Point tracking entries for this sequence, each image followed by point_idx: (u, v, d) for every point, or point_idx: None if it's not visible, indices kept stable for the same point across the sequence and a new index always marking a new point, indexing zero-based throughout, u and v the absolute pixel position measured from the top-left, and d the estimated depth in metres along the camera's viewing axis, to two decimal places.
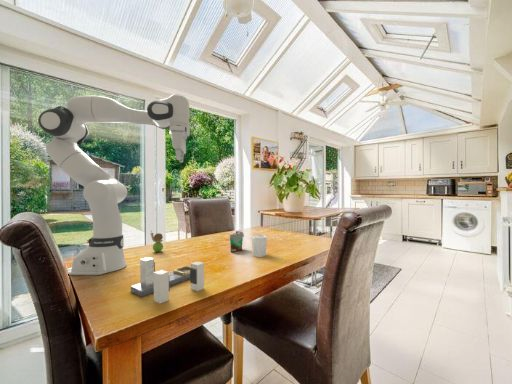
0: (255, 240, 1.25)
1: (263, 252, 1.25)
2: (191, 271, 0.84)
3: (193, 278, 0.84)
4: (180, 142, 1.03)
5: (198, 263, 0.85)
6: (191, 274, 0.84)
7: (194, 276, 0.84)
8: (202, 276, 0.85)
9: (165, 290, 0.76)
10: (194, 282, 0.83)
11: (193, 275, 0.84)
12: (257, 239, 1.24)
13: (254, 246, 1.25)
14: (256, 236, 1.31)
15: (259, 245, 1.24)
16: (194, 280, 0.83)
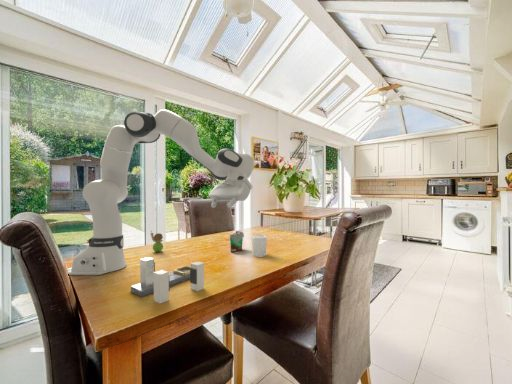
0: (255, 240, 1.25)
1: (263, 252, 1.25)
2: (191, 271, 0.84)
3: (193, 278, 0.84)
4: (247, 196, 1.01)
5: (198, 263, 0.85)
6: (191, 274, 0.84)
7: (194, 276, 0.84)
8: (202, 276, 0.85)
9: (165, 290, 0.76)
10: (194, 282, 0.83)
11: (193, 275, 0.84)
12: (257, 239, 1.24)
13: (254, 246, 1.25)
14: (256, 236, 1.31)
15: (259, 245, 1.24)
16: (194, 280, 0.83)
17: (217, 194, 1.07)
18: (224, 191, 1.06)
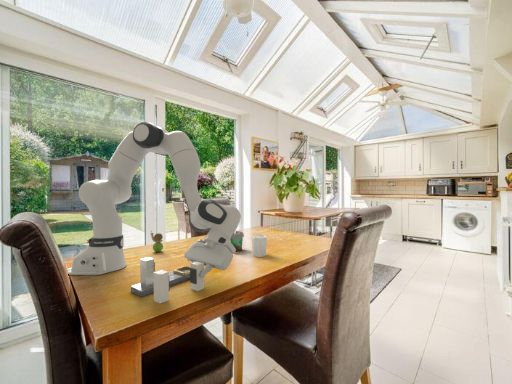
0: (255, 240, 1.25)
1: (263, 252, 1.25)
2: (191, 271, 0.84)
3: (193, 278, 0.84)
4: (228, 265, 0.84)
5: (198, 263, 0.85)
6: (191, 274, 0.84)
7: (194, 276, 0.84)
8: None
9: (165, 290, 0.76)
10: (194, 282, 0.83)
11: (193, 275, 0.84)
12: (257, 239, 1.24)
13: (254, 246, 1.25)
14: (256, 236, 1.31)
15: (259, 245, 1.24)
16: (194, 280, 0.83)
17: (193, 257, 0.89)
18: (202, 254, 0.89)
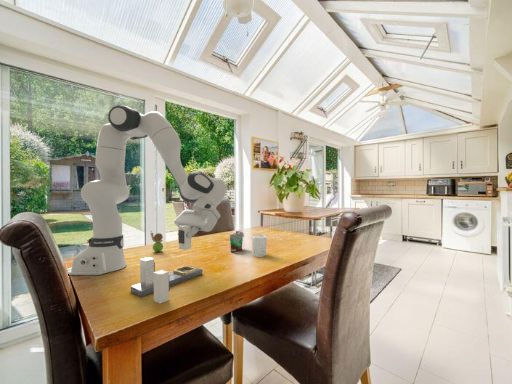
0: (255, 240, 1.25)
1: (263, 252, 1.25)
2: (179, 232, 0.94)
3: (181, 238, 0.94)
4: (212, 227, 0.94)
5: (186, 226, 0.95)
6: (179, 235, 0.94)
7: (182, 237, 0.94)
8: None
9: (165, 290, 0.76)
10: (182, 242, 0.94)
11: (181, 236, 0.94)
12: (257, 239, 1.24)
13: (254, 246, 1.25)
14: (256, 236, 1.31)
15: (259, 245, 1.24)
16: (182, 240, 0.94)
17: (182, 221, 1.00)
18: (190, 219, 0.99)
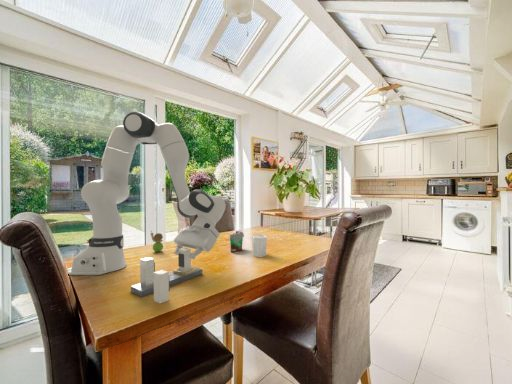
0: (255, 240, 1.25)
1: (263, 252, 1.25)
2: (179, 256, 0.96)
3: (181, 262, 0.95)
4: (211, 247, 0.96)
5: (185, 249, 0.97)
6: (179, 258, 0.96)
7: (181, 260, 0.95)
8: (189, 260, 0.97)
9: (165, 290, 0.76)
10: (182, 265, 0.95)
11: (181, 259, 0.95)
12: (257, 239, 1.24)
13: (254, 246, 1.25)
14: (256, 236, 1.31)
15: (259, 245, 1.24)
16: (182, 264, 0.95)
17: (182, 240, 1.01)
18: (189, 238, 1.00)
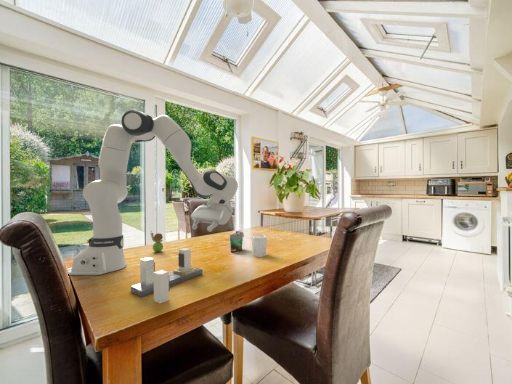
0: (255, 240, 1.25)
1: (263, 252, 1.25)
2: (179, 256, 0.96)
3: (181, 262, 0.95)
4: (227, 221, 1.03)
5: (185, 249, 0.97)
6: (179, 258, 0.96)
7: (181, 260, 0.95)
8: (189, 260, 0.97)
9: (165, 290, 0.76)
10: (182, 265, 0.95)
11: (181, 259, 0.95)
12: (257, 239, 1.24)
13: (254, 246, 1.25)
14: (256, 236, 1.31)
15: (259, 245, 1.24)
16: (182, 264, 0.95)
17: (198, 216, 1.09)
18: (206, 213, 1.08)
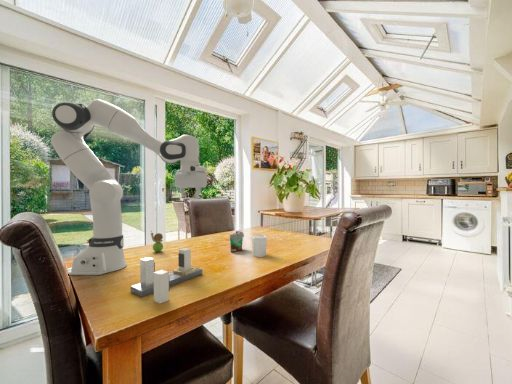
0: (255, 240, 1.25)
1: (263, 252, 1.25)
2: (179, 256, 0.96)
3: (181, 262, 0.95)
4: (206, 182, 1.14)
5: (185, 249, 0.97)
6: (179, 258, 0.96)
7: (181, 260, 0.95)
8: (189, 260, 0.97)
9: (165, 290, 0.76)
10: (182, 265, 0.95)
11: (181, 259, 0.95)
12: (257, 239, 1.24)
13: (254, 246, 1.25)
14: (256, 236, 1.31)
15: (259, 245, 1.24)
16: (182, 264, 0.95)
17: (181, 185, 1.19)
18: (186, 182, 1.17)
